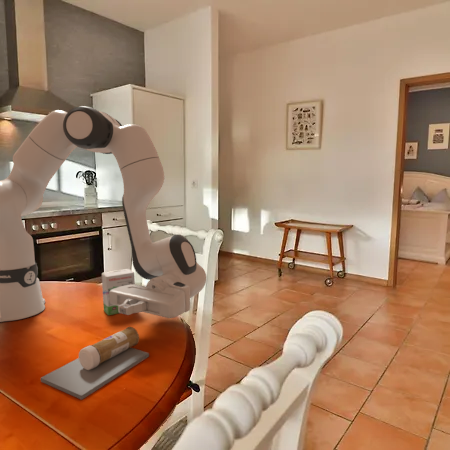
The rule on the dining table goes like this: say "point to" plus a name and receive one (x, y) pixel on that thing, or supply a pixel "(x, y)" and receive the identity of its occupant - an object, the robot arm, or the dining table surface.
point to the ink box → (114, 286)
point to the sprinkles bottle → (108, 348)
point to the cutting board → (92, 373)
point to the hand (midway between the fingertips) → (122, 310)
